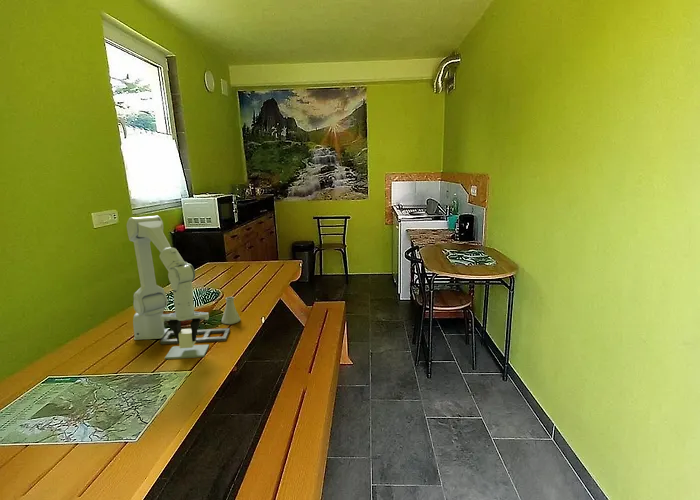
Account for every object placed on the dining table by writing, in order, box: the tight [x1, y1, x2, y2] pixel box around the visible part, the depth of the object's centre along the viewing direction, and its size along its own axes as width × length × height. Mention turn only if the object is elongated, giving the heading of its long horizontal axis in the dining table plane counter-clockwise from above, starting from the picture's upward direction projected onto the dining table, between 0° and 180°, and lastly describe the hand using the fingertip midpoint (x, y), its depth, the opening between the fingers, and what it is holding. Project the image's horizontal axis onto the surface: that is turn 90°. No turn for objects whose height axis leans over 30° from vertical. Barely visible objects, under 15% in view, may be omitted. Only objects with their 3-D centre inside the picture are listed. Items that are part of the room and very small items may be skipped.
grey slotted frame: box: [159, 327, 231, 345], centre depth 137 cm, size 22×9×1 cm, turn 99°
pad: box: [164, 344, 210, 360], centre depth 125 cm, size 12×8×1 cm, turn 99°
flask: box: [220, 296, 242, 325], centre depth 151 cm, size 7×7×10 cm
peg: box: [178, 328, 196, 348], centre depth 125 cm, size 4×4×5 cm
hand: (187, 340), depth 124 cm, fingers closed on peg, 4 cm apart
